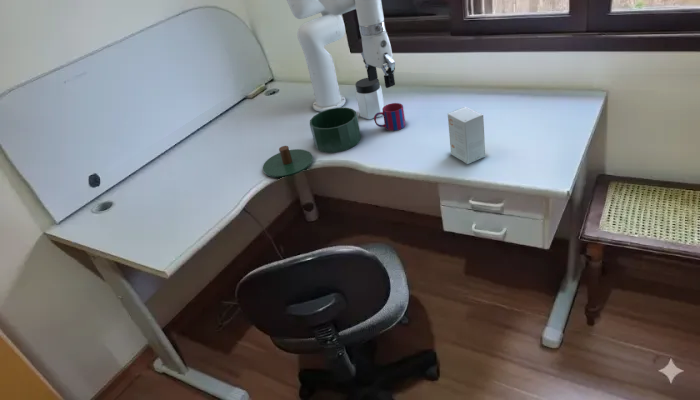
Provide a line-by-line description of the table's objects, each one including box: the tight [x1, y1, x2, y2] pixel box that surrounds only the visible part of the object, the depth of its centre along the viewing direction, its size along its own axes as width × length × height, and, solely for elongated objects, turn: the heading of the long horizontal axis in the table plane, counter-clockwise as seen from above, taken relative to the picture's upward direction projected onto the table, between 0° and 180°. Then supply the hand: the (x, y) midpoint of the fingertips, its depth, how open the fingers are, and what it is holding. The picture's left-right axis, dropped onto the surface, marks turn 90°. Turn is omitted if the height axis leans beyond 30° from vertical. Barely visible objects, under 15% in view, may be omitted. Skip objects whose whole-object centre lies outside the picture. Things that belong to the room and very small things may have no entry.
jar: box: [355, 77, 385, 120], centre depth 180 cm, size 9×8×12 cm
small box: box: [447, 106, 486, 165], centre depth 144 cm, size 8×6×13 cm
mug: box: [373, 102, 406, 132], centre depth 170 cm, size 7×10×7 cm
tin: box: [309, 107, 362, 154], centre depth 168 cm, size 15×15×8 cm
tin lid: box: [262, 145, 314, 178], centre depth 161 cm, size 16×16×6 cm
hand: (381, 83), depth 162 cm, fingers open, 9 cm apart
